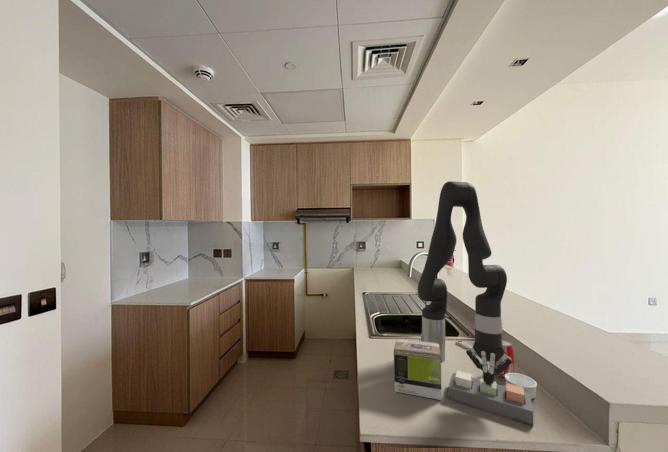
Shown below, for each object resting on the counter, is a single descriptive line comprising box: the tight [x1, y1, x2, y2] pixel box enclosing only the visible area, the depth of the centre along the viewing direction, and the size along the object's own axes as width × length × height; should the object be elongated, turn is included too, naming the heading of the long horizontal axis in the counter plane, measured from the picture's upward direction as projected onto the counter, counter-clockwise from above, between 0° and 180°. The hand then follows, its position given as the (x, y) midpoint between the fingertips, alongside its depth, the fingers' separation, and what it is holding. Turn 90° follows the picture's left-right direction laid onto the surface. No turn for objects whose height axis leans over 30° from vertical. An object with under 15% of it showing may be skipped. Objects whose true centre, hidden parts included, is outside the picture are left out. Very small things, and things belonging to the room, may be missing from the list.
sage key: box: [479, 377, 497, 396], centre depth 84 cm, size 4×4×4 cm
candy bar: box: [455, 340, 477, 355], centre depth 120 cm, size 17×4×2 cm, turn 22°
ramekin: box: [504, 372, 538, 400], centre depth 90 cm, size 9×9×4 cm
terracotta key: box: [505, 382, 525, 404], centre depth 81 cm, size 4×4×4 cm
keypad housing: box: [447, 372, 534, 426], centre depth 84 cm, size 22×10×4 cm, turn 58°
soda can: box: [494, 339, 515, 379], centre depth 101 cm, size 7×7×12 cm
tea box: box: [393, 337, 443, 401], centre depth 92 cm, size 15×10×15 cm, turn 71°
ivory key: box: [455, 370, 473, 389], centre depth 88 cm, size 4×4×4 cm
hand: (488, 383), depth 84 cm, fingers closed
